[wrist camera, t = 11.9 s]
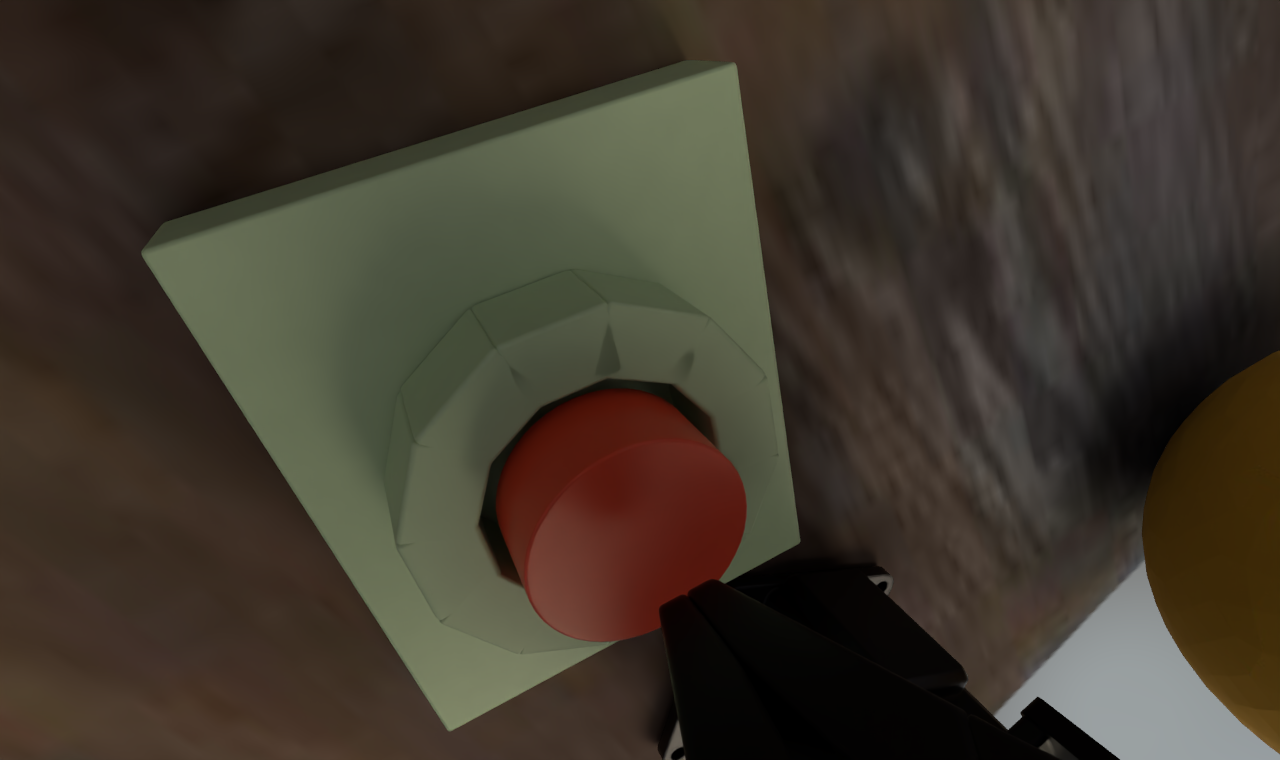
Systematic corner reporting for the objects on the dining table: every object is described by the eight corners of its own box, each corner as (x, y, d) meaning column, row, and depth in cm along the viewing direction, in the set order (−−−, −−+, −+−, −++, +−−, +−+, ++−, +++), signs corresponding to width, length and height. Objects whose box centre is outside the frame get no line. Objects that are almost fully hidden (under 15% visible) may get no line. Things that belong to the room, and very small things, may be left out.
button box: (763, 504, 18) (850, 592, 15) (435, 673, 16) (465, 813, 13) (689, 58, 12) (805, 63, 9) (159, 222, 10) (102, 294, 7)
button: (710, 515, 13) (761, 574, 11) (534, 604, 12) (564, 680, 11) (674, 353, 11) (730, 399, 10) (462, 444, 10) (488, 511, 9)
